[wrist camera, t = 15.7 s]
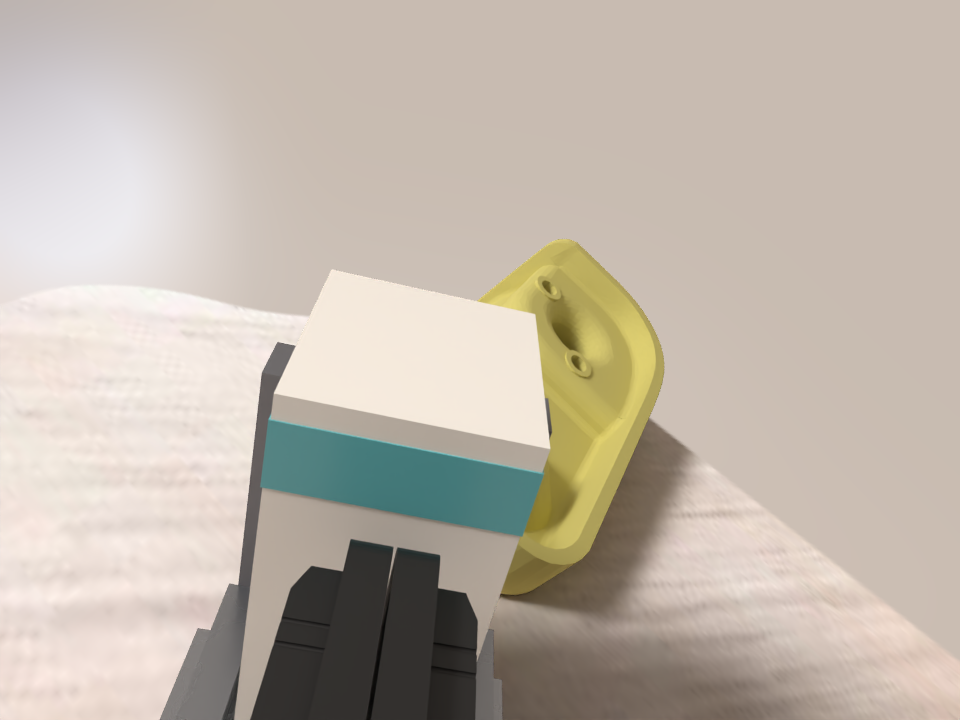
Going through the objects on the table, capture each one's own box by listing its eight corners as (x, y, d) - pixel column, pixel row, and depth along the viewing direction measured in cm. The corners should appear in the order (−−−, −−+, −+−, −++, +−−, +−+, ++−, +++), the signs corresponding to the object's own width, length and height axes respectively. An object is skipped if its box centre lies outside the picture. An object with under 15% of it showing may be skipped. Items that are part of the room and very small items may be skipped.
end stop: (458, 705, 24) (552, 431, 19) (228, 668, 23) (261, 372, 18) (460, 664, 25) (548, 398, 20) (243, 627, 24) (277, 342, 19)
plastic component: (570, 594, 26) (355, 386, 26) (449, 667, 30) (265, 490, 30) (681, 344, 42) (550, 215, 41) (592, 416, 46) (472, 299, 46)
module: (413, 849, 18) (552, 450, 12) (220, 821, 18) (270, 393, 12) (428, 670, 23) (536, 314, 17) (274, 643, 22) (330, 268, 16)
